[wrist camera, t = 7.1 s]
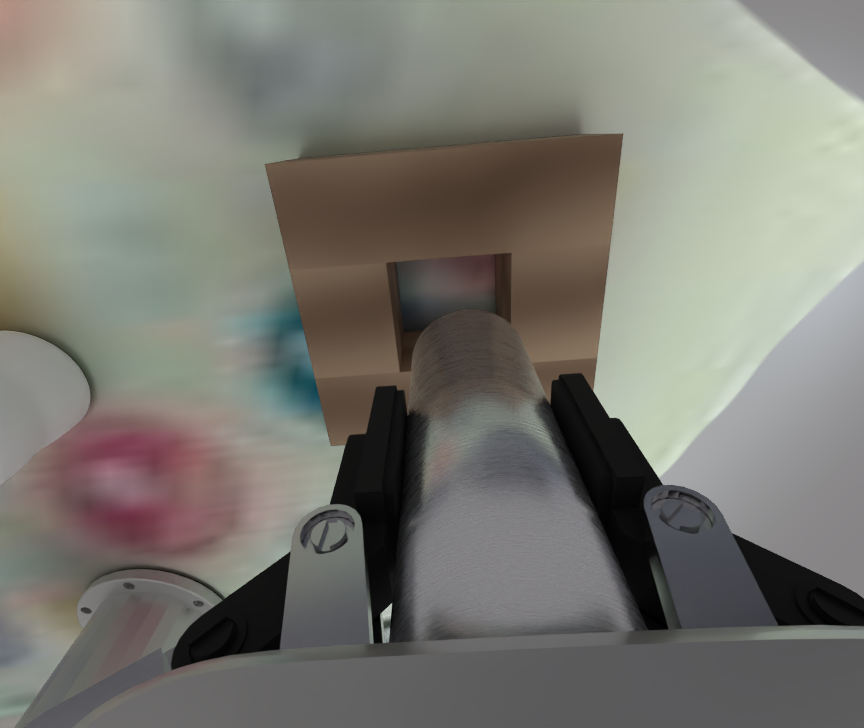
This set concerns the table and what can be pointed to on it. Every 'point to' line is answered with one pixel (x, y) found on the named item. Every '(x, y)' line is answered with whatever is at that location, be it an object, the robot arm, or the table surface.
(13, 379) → the water bottle
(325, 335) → the brown peg hole board
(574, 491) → the steel peg
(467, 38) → the table surface
